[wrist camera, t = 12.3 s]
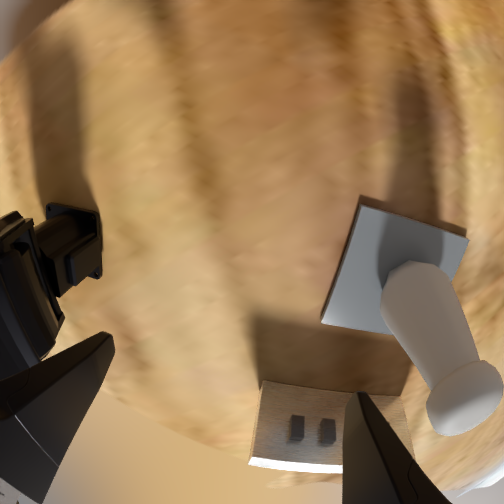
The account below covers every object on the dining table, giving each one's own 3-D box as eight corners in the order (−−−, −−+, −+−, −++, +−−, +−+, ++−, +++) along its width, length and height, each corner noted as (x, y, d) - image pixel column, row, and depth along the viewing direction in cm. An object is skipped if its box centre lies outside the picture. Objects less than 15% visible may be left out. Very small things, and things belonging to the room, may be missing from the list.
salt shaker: (435, 240, 19) (534, 358, 7) (440, 300, 21) (506, 421, 9) (366, 264, 20) (423, 413, 9) (378, 322, 22) (417, 460, 10)
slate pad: (320, 318, 23) (321, 323, 23) (359, 203, 19) (361, 206, 19) (418, 334, 23) (420, 338, 22) (466, 237, 19) (469, 240, 18)
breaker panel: (259, 391, 28) (248, 464, 20) (265, 375, 27) (253, 453, 19) (392, 406, 28) (404, 470, 20) (404, 391, 26) (420, 458, 18)
